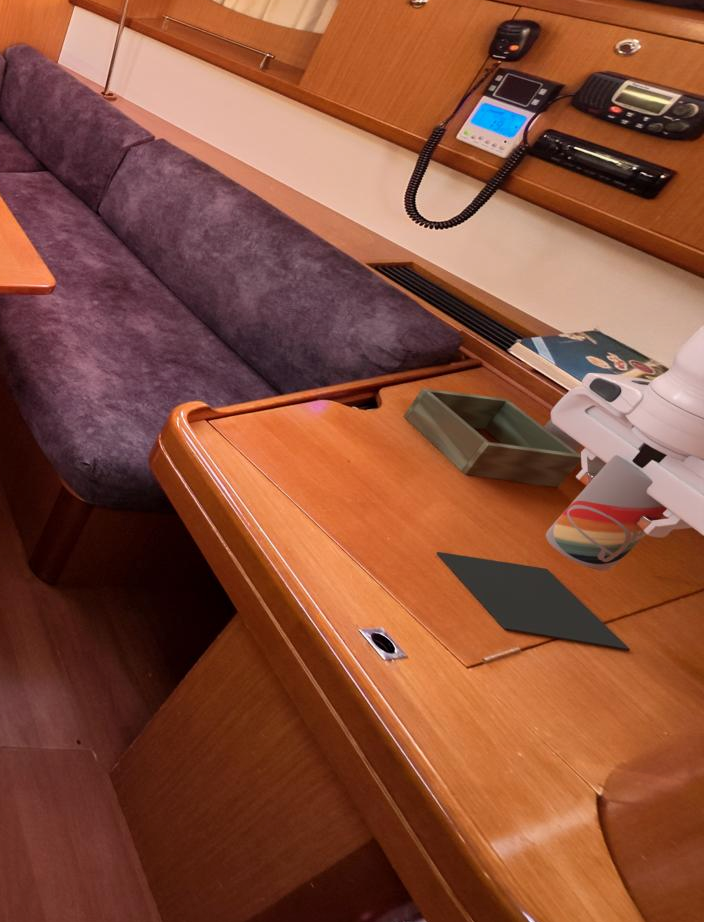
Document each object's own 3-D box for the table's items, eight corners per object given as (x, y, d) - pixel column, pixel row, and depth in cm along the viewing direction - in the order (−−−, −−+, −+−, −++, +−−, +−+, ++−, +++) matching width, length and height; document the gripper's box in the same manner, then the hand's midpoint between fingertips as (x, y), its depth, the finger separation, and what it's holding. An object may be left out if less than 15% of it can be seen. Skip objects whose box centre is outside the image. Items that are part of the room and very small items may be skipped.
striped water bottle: (570, 566, 79) (675, 454, 70) (531, 527, 84) (625, 418, 75) (626, 576, 78) (740, 464, 69) (583, 536, 83) (684, 427, 74)
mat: (545, 570, 90) (547, 568, 90) (628, 650, 80) (630, 649, 80) (436, 553, 92) (437, 551, 92) (504, 630, 82) (506, 628, 82)
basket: (485, 426, 115) (506, 398, 112) (558, 487, 103) (584, 457, 100) (402, 416, 117) (422, 388, 114) (465, 474, 105) (488, 445, 102)
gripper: (856, 507, 62) (752, 592, 68) (630, 371, 80) (564, 448, 86) (780, 497, 63) (684, 582, 69) (573, 364, 81) (512, 441, 87)
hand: (616, 506), depth 77 cm, fingers closed on striped water bottle, 5 cm apart
